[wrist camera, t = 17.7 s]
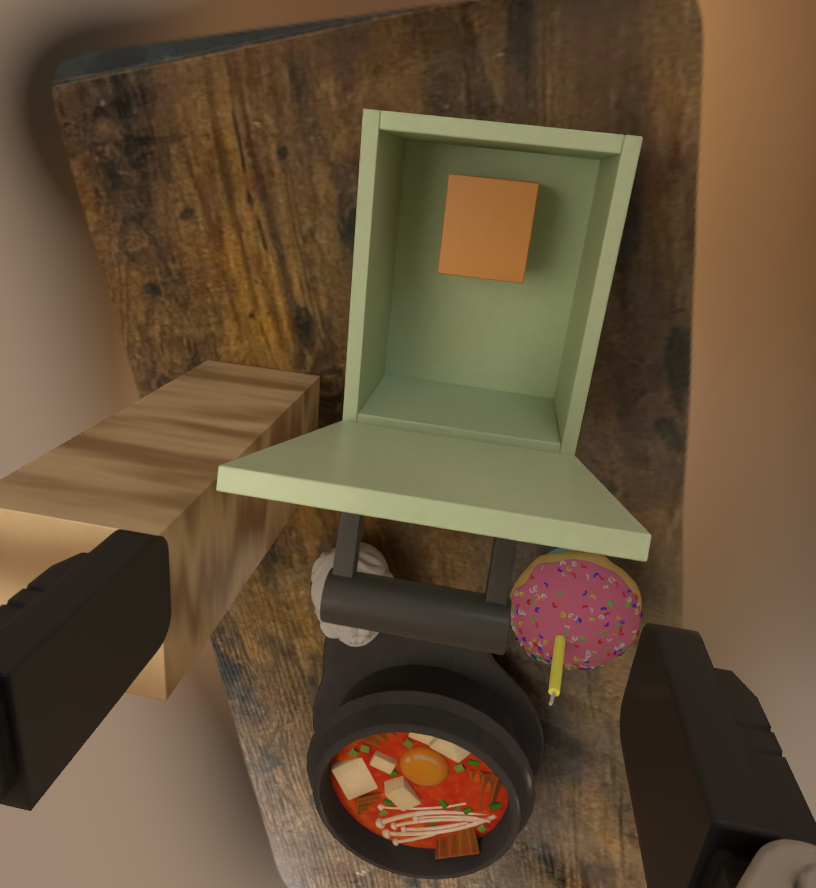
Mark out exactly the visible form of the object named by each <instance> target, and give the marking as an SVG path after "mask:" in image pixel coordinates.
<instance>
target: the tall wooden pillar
mask: <svg viewBox="0 0 816 888" xmlns="http://www.w3.org/2000/svg"><path fill="white" fill-rule="evenodd" d="M319 393H320V376H317V375H310V374H303V373H296V372H289V371H282V370H275V369H268V368H262V367H255V366H248V365H241V364H234V363H227V362H220V361H213V360H208V361H206V362H204V363H202V364H201V365H199V366H197V367H195V368H194V369H192V370H190V371H188V372H187V373H185V374H183V375H181V376H180V377H178V378H176V379H174V380H173V381H171V382H169V383H168V384H166V385H164V386H162V387H161V388H159V389H157V390H155V391H154V392H152V393H150V394H148V395H147V396H145V397H143V398H141V399H140V400H138V401H137V402H135V403H133V404H131V405H129V406H128V407H126V408H124V409H122V410H121V411H119V412H117V413H115V414H114V415H112V416H110V417H108V418H107V419H105V420H103V421H102V422H100V423H98V424H96V425H95V426H93V427H91V428H89V429H88V430H86V431H84V432H82V433H81V434H79V435H77V436H75V437H74V438H72V439H71V440H69V441H67V442H65V443H63V444H62V445H60V446H58V447H56V448H55V449H53V450H51V451H49V452H48V453H46V454H44V455H42V456H41V457H39V458H37V459H36V460H34V461H32V462H30V463H29V464H27V465H25V466H23V467H22V468H20V469H18V470H16V471H15V472H13V473H11V474H9V475H8V476H6V477H4V478H3V479H1V480H0V606H1V605H2V604H4V605H6V604H7V603H8V600H9V599H10V598H11V597H12V596H14V595H15V594H16V593H18V592H19V591H20V590H21V589H23V588H24V589H26V588H27V585H28V584H29V583H30V582H31V581H33V580H34V579H35V578H36V577H38V576H39V575H40V574H42V573H43V572H44V571H45V570H47V569H48V568H49V567H50V566H52V565H54V564H57V563H59V562H61V561H63V560H66V559H68V558H70V557H72V556H75V555H77V554H79V553H82V552H85V553H89V552H90V551H92V550H93V549H94V548H95V547H96V546H98V545H99V544H100V543H101V542H102V541H104V540H105V539H106V538H107V537H108V536H110V535H111V534H112V533H113V532H115V531H116V530H119V529H124V530H130V531H135V532H141V533H147V534H152V535H158V536H163V537H164V538H165V539H166V541H167V543H168V547H169V566H170V590H171V620H170V625H169V629H168V632H167V635H166V638H165V640H164V642H163V644H162V646H161V647H160V649H159V650H158V651H157V653H156V654H155V655H154V656H153V658H152V659H151V660H150V661H149V663H148V664H147V665H146V666H145V668H144V669H143V670H142V671H141V673H140V674H139V675H138V677H137V678H136V679H135V680H134V682H133V683H132V684H131V685H130V687H129V688H128V689H127V690H126V693H131V694H135V695H141V696H145V697H150V698H155V699H160V700H167V699H168V698H169V696H170V695H171V693H172V692H173V690H174V689H175V687H176V686H177V684H178V683H179V681H180V680H181V678H182V677H183V675H184V674H185V673H186V671H187V670H188V668H189V666H190V665H191V663H192V662H193V661H194V659H195V658H196V656H197V655H198V653H199V652H200V650H201V649H202V647H203V646H204V644H205V643H206V641H207V640H208V639H209V637H210V636H211V634H212V633H213V631H214V630H215V628H216V627H217V625H218V624H219V622H220V621H221V619H222V618H223V616H224V615H225V613H226V612H227V610H228V609H229V608H230V606H231V605H232V603H233V602H234V600H235V599H236V597H237V596H238V594H239V593H240V591H241V590H242V588H243V587H244V585H245V584H246V582H247V581H248V579H249V578H250V577H251V575H252V574H253V572H254V571H255V569H256V568H257V566H258V565H259V563H260V562H261V560H262V559H263V557H264V556H265V554H266V553H267V551H268V550H269V548H270V547H271V545H272V544H273V543H274V541H275V540H276V538H277V537H278V535H279V534H280V532H281V531H282V529H283V528H284V526H285V525H286V523H287V522H288V520H289V519H290V517H291V516H292V514H293V513H294V512H295V510H296V509H297V507H298V506H299V504H292V503H286V502H280V501H274V500H268V499H262V498H256V497H250V496H244V495H238V494H232V493H226V492H220V491H217V490H216V486H217V477H218V467H219V465H222V464H225V463H227V462H230V461H233V460H236V459H238V458H241V457H244V456H247V455H249V454H252V453H255V452H258V451H260V450H263V449H266V448H269V447H271V446H274V445H277V444H280V443H282V442H285V441H288V440H291V439H293V438H296V437H299V436H301V435H304V434H307V433H310V432H312V431H315V430H318V413H319Z"/></svg>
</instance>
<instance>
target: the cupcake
mask: <svg viewBox="0 0 816 888" xmlns="http://www.w3.org/2000/svg"><path fill="white" fill-rule="evenodd" d="M510 599H511V602H512V607H511V625H512V629H513V630H514V632H515V635H516V637H517V638H516V637H515V639H516V640H518V641H519V642H520V643H521V646H523V649H524V648H525V651H526V652H527V654H528V655H529V654H530V653H531V654H530V655H529V656H531V655H532V656H533V657H534V658H535V659H538V658H539V659H538V660H539V661H541V660H542V661H543V663H547V664H549V663H551V664H552V666H551V673H550V681H549V689H548V692H549V694H550V695H551V697H550V702H549V705H550V706H551V705H552V704H553V702H554V697H557V696H559V694H560V687H561V678H562V668H563V667H566V668H567V669H568V670H570V669H572V668H574V669H577V668H579V669H580V670H584V669H586V670H587V669H589V667H590V668H595V666H604V665H605V664H604V663H606V662H608V661H610V660H612V659H613V658H615V657H618V656H621V655H622V653H624V652H625V649H626V648H627V647H628V646H629V645H630V644H631V643H632V642H633V641H634V640H635V638H636V636H637V635H639V630H638V629H639V624H640V620H641V617H642V612H641V609H642V599H641V594H640V591H639V589H638V587H637V585H636V583H635V582H634V580H633V579H632V578H631V577H630V576H629V575H628V574H627V573H626V572H625V571H624V570H622V569H621V568H620V567H618V566H616V565H615V564H613V563H612V562H611V561H610V560H609V559H608V558H607V557H606V556H604V555H601V554H595V553H589V552H583V551H577V550H571V549H565V548H557V549H554V550H552V551H550V552H548V553H547V554H545V555H541V556H538V557H537V558H536V559H535V560H534V561H533V562H532V563H531V564H530V565H529V566H528V567H527V568H526V569H525V571H524V572H523V573H522V574H521V575H520V577H519V578H518V579H517V581H516V582H515V584H514V586H513V588H512V591H511V594H510ZM535 656H536V657H535ZM601 664H602V665H601ZM587 667H588V668H587ZM581 668H583V669H581Z"/></svg>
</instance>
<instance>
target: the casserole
mask: <svg viewBox="0 0 816 888" xmlns="http://www.w3.org/2000/svg"><path fill="white" fill-rule="evenodd" d="M313 728H314V732H315V733H314V735H313V737H312V739H311V742H310V746H309V749H308V753H307V772H308V776H309V780H310V785H311V788H312V790H313V797H314V801H315V805H316V809H317V811H318V813H319V815H320V817H321V819H322V821H323V823H324V825H325V826H326V827H327V829H328V830H329V831H330V833H331V834H332V835H333V837H334V838H335V839H337V840H338V841H339V842H340V843H341V844H342V845H343V846H344V847H345V848H346V849H348V850H349V851H350V852H352V853H353V854H355V855H356V856H358V857H359V858H361V859H362V860H364V861H366V862H368V863H370V864H372V865H374V866H376V867H378V868H381V869H384V870H387V871H390V872H393V873H396V874H399V875H404V876H409V877H414V878H424V879H445V878H456V877H460V876H464V875H468V874H473V873H475V872H477V871H479V870H482V869H484V868H486V867H488V866H490V865H491V864H493V863H494V862H495V861H497V860H498V859H500V858H501V857H502V856H503V855H504V854H505V853H506V852H507V850H508V849H509V848H510V847H511V846H512V844H513V842H514V840H515V838H516V836H517V835H518V833H519V832H520V831H521V830H522V829H523V828H524V827H525V825H526V823H527V821H528V819H529V817H530V815H531V813H532V811H533V805H534V800H535V795H536V794H535V782H534V779H535V777H536V775H537V773H538V771H539V769H540V767H541V765H542V759H543V754H544V749H545V746H544V732H543V727H542V724H541V721H540V718H539V715H538V712H537V710H536V709H535V707H534V705H533V704H532V702H531V700H530V699H529V697H528V695H527V694H526V693H525V692H524V690H523V689H522V688H521V687H520V686H519V685H518V684H517V683H516V682H515V681H514V680H513V679H512V678H511V677H510V676H509V675H508V674H507V672H506V671H505V670H504V669H503V668H502V667H501V666H500V665H499V664H498V663H497V662H496V661H495V659H494V657H493V656H492V654H491V653H488V652H483V651H477V650H472V649H467V648H461V647H456V646H450V645H445V644H439V643H434V642H428V641H423V640H418V639H412V638H407V637H401V636H396V635H390V634H385V633H380V632H379V633H378V634H377V636H376V637H375V638H374V639H373V640H371V641H370V642H369V643H367V644H366V645H363V646H359V647H354V646H349V645H347V644H345V643H344V642H342V641H340V640H339V638H328V637H326V639H325V643H324V654H323V677H322V680H321V684H320V687H319V691H318V694H317V698H316V701H315V705H314V708H313Z"/></svg>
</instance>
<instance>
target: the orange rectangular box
mask: <svg viewBox="0 0 816 888" xmlns="http://www.w3.org/2000/svg"><path fill="white" fill-rule="evenodd" d="M538 191H539V183H536V182H526V181H517V180H507V179H498V178H488V177H479V176H469V175H460V174H449V177H448V186H447V195H446V203H445V212H444V221H443V230H442V239H441V248H440V257H439V266H438V273H439V274H446V275H454V276H462V277H471V278H479V279H487V280H495V281H504V282H512V283H520V284H523V283H524V277H525V271H526V265H527V259H528V252H529V246H530V240H531V234H532V228H533V222H534V215H535V209H536V203H537V197H538Z"/></svg>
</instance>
